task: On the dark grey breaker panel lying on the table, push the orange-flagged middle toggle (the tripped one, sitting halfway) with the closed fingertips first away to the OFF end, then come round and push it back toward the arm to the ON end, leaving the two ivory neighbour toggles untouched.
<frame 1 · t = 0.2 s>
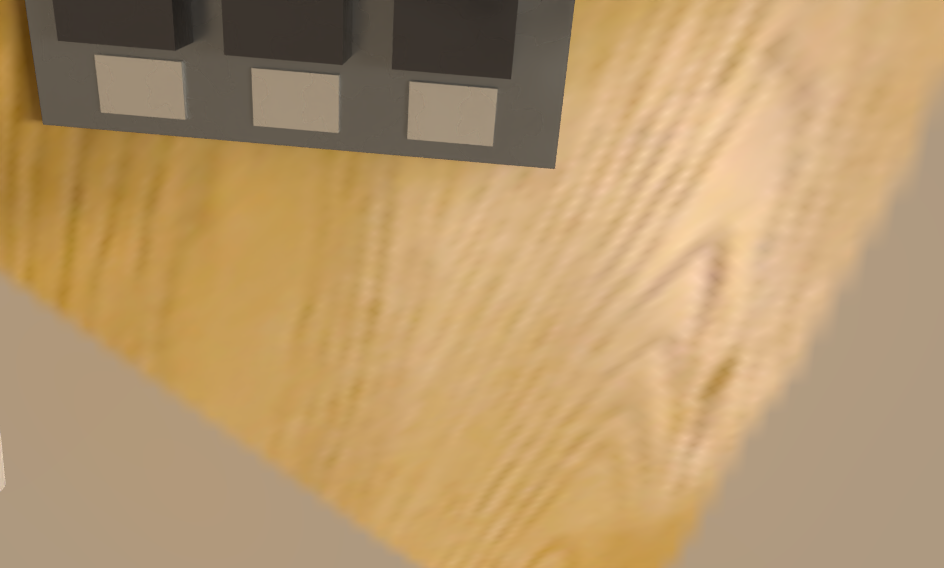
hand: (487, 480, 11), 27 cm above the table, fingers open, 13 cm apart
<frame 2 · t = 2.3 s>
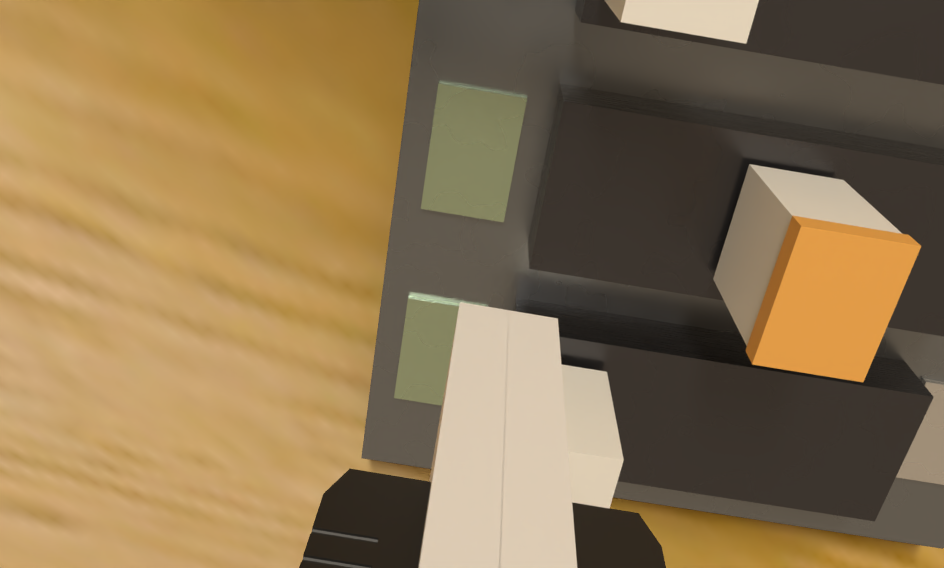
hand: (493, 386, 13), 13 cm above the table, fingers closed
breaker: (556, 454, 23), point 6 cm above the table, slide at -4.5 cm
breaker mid: (802, 265, 20), point 6 cm above the table, slide at 0.0 cm
panel: (740, 182, 25), on the table
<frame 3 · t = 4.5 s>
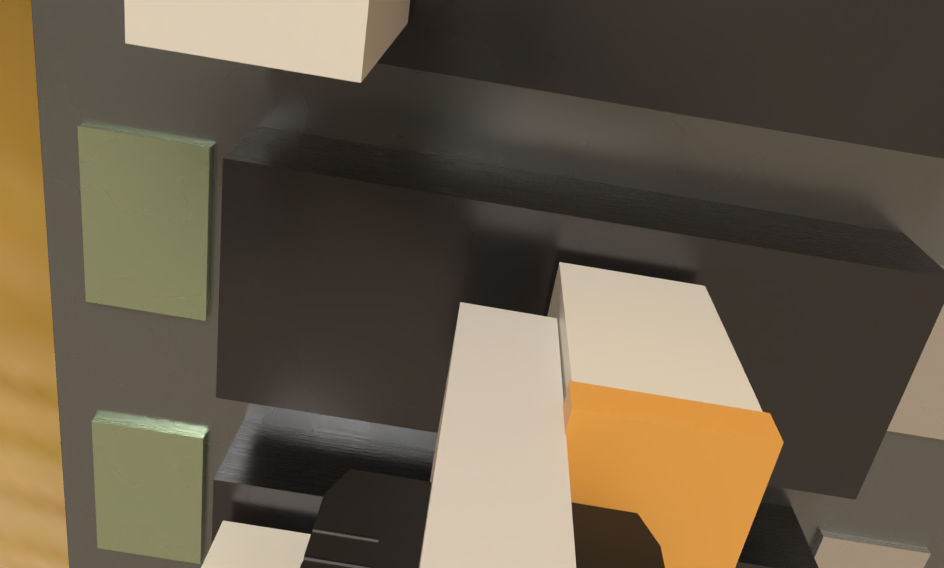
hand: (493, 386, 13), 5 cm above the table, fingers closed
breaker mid: (624, 432, 12), point 6 cm above the table, slide at 0.8 cm, touching gripper
panel: (555, 260, 18), on the table
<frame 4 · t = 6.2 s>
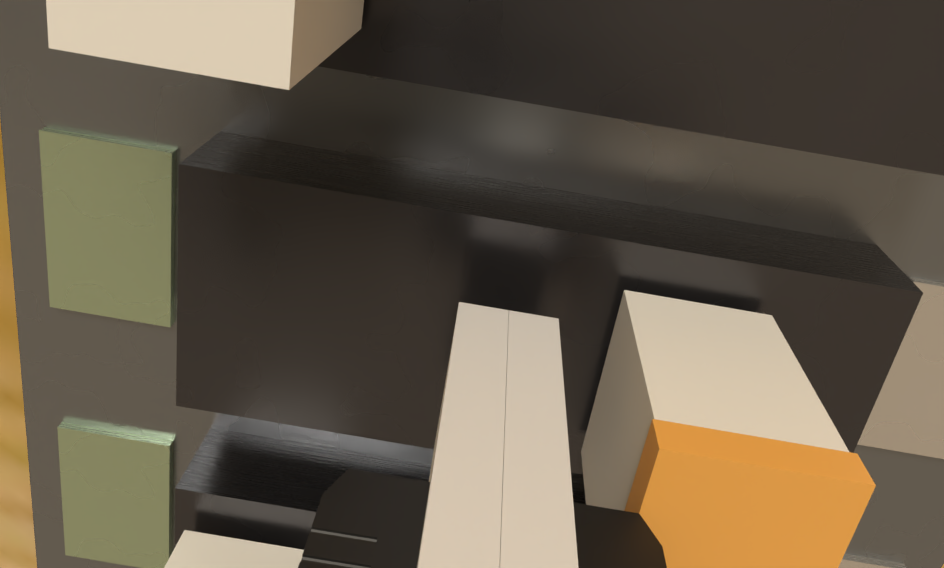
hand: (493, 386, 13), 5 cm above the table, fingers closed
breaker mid: (694, 466, 12), point 6 cm above the table, slide at 2.5 cm
panel: (526, 268, 18), on the table
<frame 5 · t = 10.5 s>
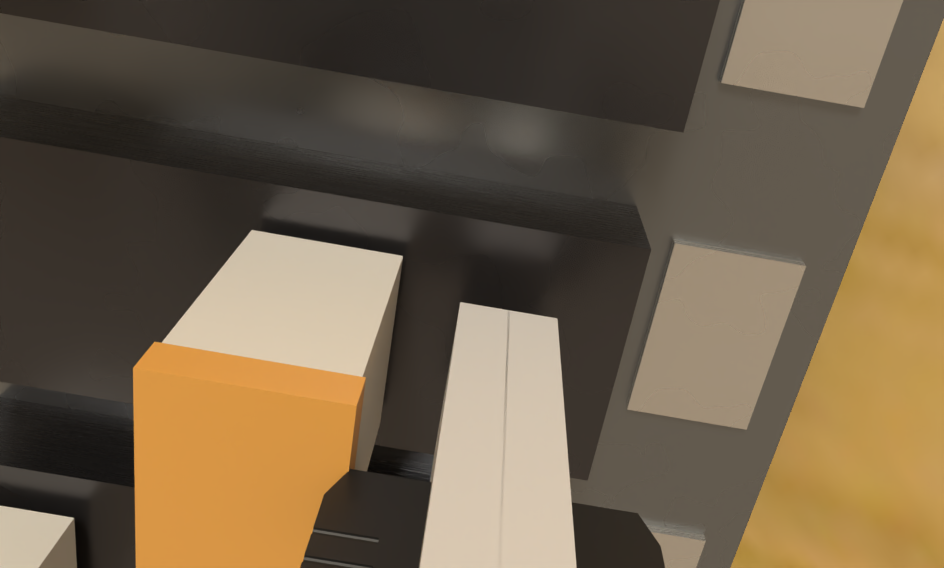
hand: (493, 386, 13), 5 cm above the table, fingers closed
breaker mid: (285, 403, 12), point 6 cm above the table, slide at 1.0 cm, touching gripper
panel: (313, 235, 17), on the table
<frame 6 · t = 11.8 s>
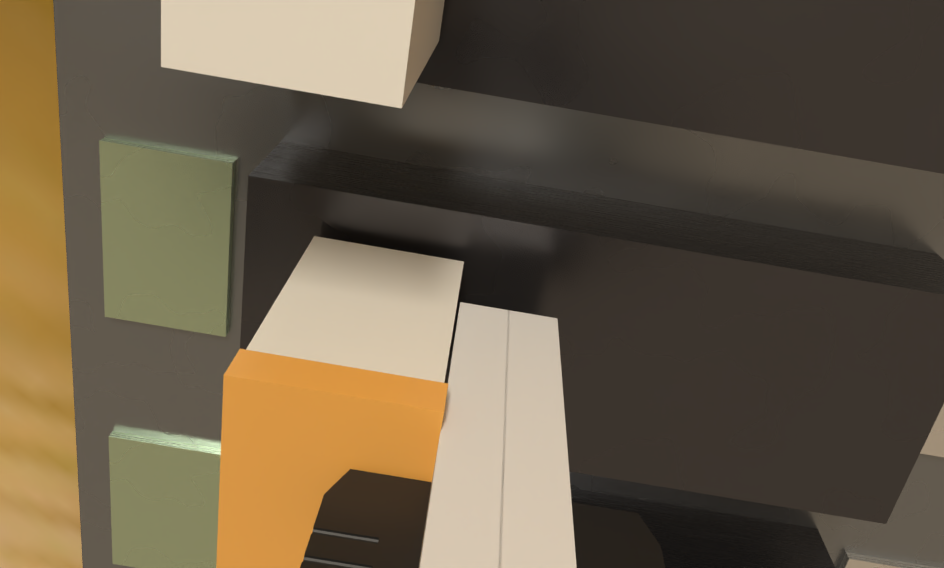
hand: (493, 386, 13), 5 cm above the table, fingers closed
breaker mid: (354, 408, 12), point 6 cm above the table, slide at -3.6 cm, touching gripper
panel: (579, 277, 18), on the table
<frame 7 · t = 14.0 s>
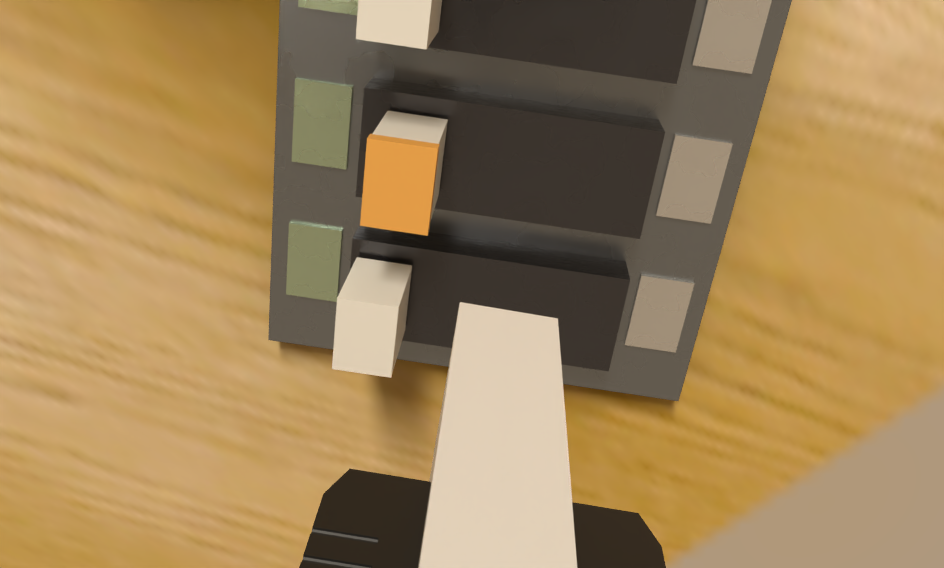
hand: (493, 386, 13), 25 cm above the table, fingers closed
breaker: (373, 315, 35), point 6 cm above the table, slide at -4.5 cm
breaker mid: (406, 169, 32), point 6 cm above the table, slide at -3.8 cm
panel: (508, 141, 38), on the table
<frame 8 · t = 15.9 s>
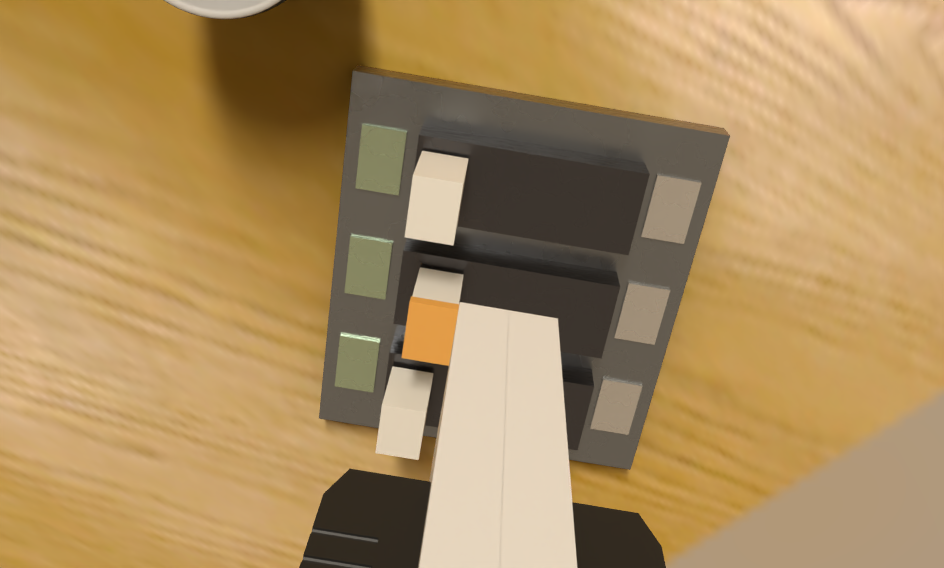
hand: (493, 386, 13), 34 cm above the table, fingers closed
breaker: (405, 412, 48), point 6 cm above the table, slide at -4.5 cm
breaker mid: (433, 314, 45), point 6 cm above the table, slide at -3.8 cm
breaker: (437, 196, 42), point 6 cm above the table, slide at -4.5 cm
panel: (505, 279, 50), on the table
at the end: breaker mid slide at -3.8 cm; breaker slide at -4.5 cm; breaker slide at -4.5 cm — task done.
